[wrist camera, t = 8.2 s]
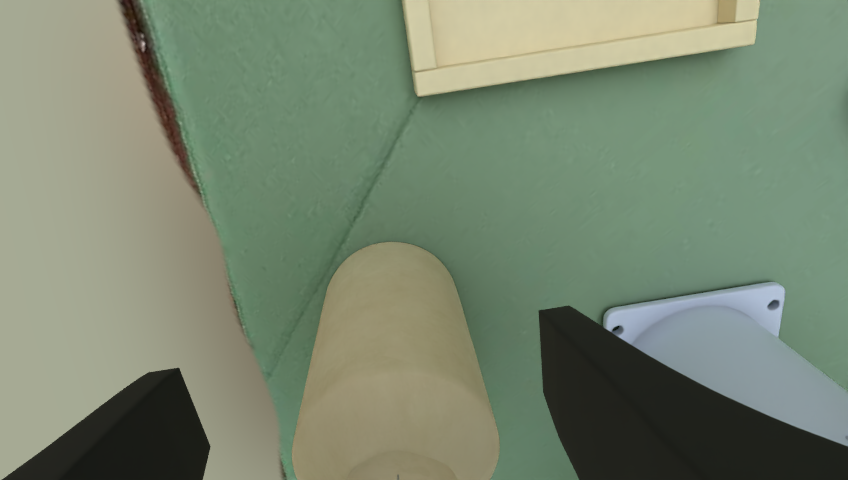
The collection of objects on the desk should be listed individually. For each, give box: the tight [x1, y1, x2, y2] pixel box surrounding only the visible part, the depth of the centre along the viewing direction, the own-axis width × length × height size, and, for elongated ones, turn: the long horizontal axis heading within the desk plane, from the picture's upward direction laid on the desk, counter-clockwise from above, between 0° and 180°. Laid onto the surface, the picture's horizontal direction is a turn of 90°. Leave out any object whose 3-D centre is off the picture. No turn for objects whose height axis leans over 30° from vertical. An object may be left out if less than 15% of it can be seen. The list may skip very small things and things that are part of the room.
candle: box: [292, 242, 500, 480], centre depth 17 cm, size 6×6×10 cm
